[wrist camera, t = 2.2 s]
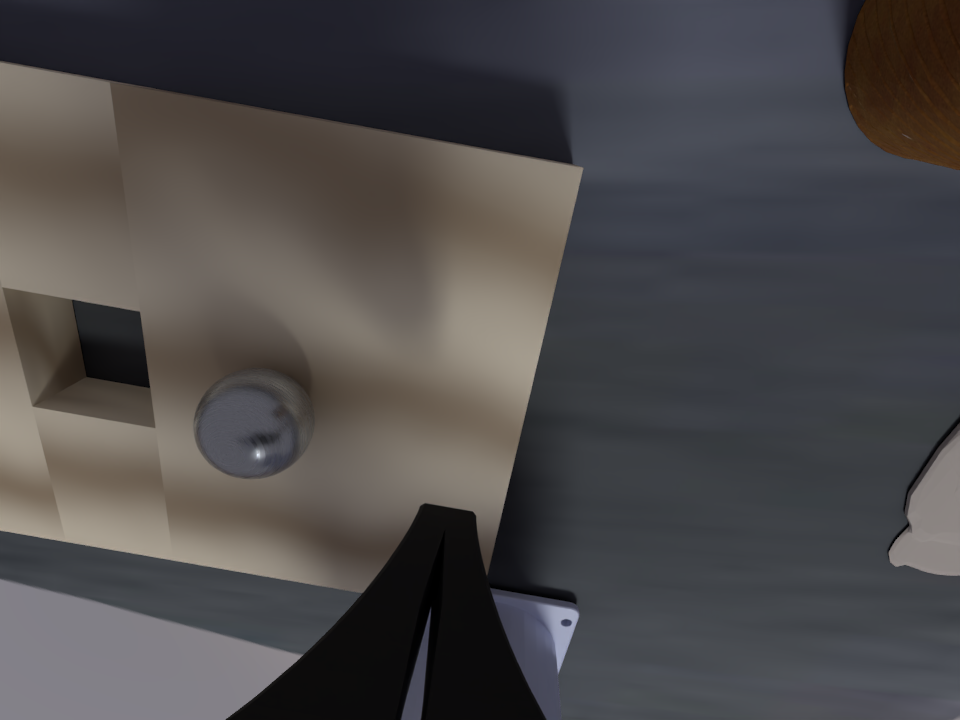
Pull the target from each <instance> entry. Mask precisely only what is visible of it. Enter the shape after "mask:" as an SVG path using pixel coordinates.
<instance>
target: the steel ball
mask: <svg viewBox="0 0 960 720" xmlns="http://www.w3.org/2000/svg"><path fill="white" fill-rule="evenodd" d="M314 427H315V414H314V409H313V405H312V402H311V400H310V398H309V396H308V394H307V393H306V391H305V390H304V389H303V387H302V386H301V385H300V384H299V383H298V382H297V381H295V380H294V379H293V378H291V377H289V376H288V375H286V374H284V373H281V372H279V371H276V370H272V369H267V368H248V369H242V370H239V371H235V372H233V373H230V374H228V375H226V376H224V377H223V378H221V379H220V380H218V381H217V382H215V383H214V384H213V385H212V386H211V387H210V388H209V389H208V390H207V391H206V392H205V394H204V395H203V397H202V398H201V400H200V402H199V403H198V406H197V408H196V411H195V415H194V421H193V432H194V439H195V442H196V445H197V447H198V449H199V451H200V453H201V454H202V456H203V457H204V458H205V460H206V461H207V462H208V463H209V464H210V465H212V466H213V467H214V468H215V469H217V470H218V471H220V472H222V473H224V474H226V475H229V476H232V477H235V478H241V479H261V478H266V477H270V476H273V475H276V474H278V473H280V472H282V471H284V470H286V469H288V468H289V467H290V466H292V465H293V464H294V463H295V462H296V461H297V460H298V459H299V458H300V457H301V456H302V455H303V454H304V452H305V451H306V449H307V448H308V446H309V444H310V442H311V439H312V436H313V433H314Z"/></svg>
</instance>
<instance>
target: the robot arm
mask: <svg viewBox="0 0 960 720" xmlns="http://www.w3.org/2000/svg"><path fill="white" fill-rule="evenodd" d="M578 618H579V609H578V606H577V605H576V604H574V603H571V602H567V601H561V600H555V599H550V598H544V597H538V596H532V595H527V594H521V593H515V592H509V591H504V590H498V589H492V588H490V586H489V582H488V578H487V575H486V571H485V567H484V563H483V559H482V555H481V550H480V545H479V539H478V532H477V523H476V515H475V513H474V512H473V511H468V510H462V509H457V508H451V507H445V506H439V505H434V504H428V503H424V504H423V505H421V506H420V507H419V510H418V512H417V515H416V516H415V518H414V520H413V522H412V524H411V526H410V528H409V529H408V531H407V533H406V534H405V536H404V538H403V539H402V541H401V542H400V544H399V545H398V547H397V548H396V550H395V551H394V553H393V554H392V555H391V557H390V558H389V560H388V561H387V563H386V564H385V565H384V567H383V568H382V569H381V571H380V572H379V573H378V575H377V576H376V577H375V578H374V580H373V581H372V582H371V583H370V585H369V586H368V587H367V588H366V590H365V591H364V592H363V593H362V595H361V596H360V597H359V598H358V599H357V600H356V602H355V603H354V604H353V605H352V606H351V607H350V608H349V610H348V611H347V612H346V613H345V614H344V615H343V616H342V617H341V618H340V619H339V620H338V621H337V623H336V624H335V625H334V626H333V627H332V628H331V629H330V630H329V631H328V632H327V633H326V634H325V635H324V636H323V637H322V638H321V639H320V640H319V641H318V642H317V643H316V644H315V645H314V646H313V647H312V648H311V649H310V650H308V651H307V652H306V653H305V654H304V655H303V656H302V657H301V658H300V659H299V660H298V661H297V662H296V663H294V664H293V665H292V666H291V667H290V668H289V669H288V670H286V671H285V672H284V673H283V674H282V675H280V676H279V677H278V678H277V679H276V680H275V681H273V682H272V683H271V684H270V685H269V686H268V687H267V688H265V689H264V690H263V691H262V692H261V693H259V694H258V695H257V696H256V697H254V698H253V699H252V700H251V701H249V702H248V703H247V704H246V705H244V706H243V707H242V708H240V709H239V710H238V711H236V712H235V713H234V714H232V715H231V716H230V717H228V718H227V719H226V720H562V718H561V706H560V693H559V681H558V673H559V671H560V668H561V665H562V662H563V660H564V657H565V654H566V651H567V649H568V646H569V643H570V640H571V637H572V635H573V632H574V629H575V626H576V624H577V621H578Z"/></svg>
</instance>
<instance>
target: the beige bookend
mask: <svg viewBox="0 0 960 720" xmlns="http://www.w3.org/2000/svg"><path fill="white" fill-rule="evenodd" d="M905 515H906V517H907V519H908V521H909V526H908V528H907V529H906V530H905V531H904V532H903V533H902V534H901V535H900V536H899V537H898V538H897V539H896V540H895V542H894V544H893V546H892V547H891V549H890V551H889V558H890V562H891V563H892V564H893V565H895V566H896V567H897V566H901V565H908V566H911V567H914V568H916V569H919V570H921V571H924V572H929V573H933V574H939V575H949V576H950V575H960V423H959V424H958V425H957V426H956V428H955V429H954V430H953V431H952V432H951V433H950V435H949V436H948V437H947V438H946V439H945V440H944V442H943V443H942V444H941V445H940V446H939V447H938V449H937V450H936V452H935V453H934V455H933V456H932V458H931V459H930V461H929V462H928V464H927V465H926V467H925V468H924V470H923V471H922V473H921V474H920V476H919V477H918V479H917V480H916V482H915V483H914V485H913V486H912V488H911V489H910V491H909V492H908V496H907V502H906V507H905Z"/></svg>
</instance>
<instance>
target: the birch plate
mask: <svg viewBox="0 0 960 720" xmlns="http://www.w3.org/2000/svg"><path fill="white" fill-rule="evenodd" d="M582 172H583V168H582V167H579V166H577V165H574V164H569V163H563V162H558V161H552V160H547V159H541V158H536V157H530V156H524V155H519V154H513V153H508V152H502V151H497V150H491V149H486V148H480V147H475V146H469V145H464V144H458V143H453V142H447V141H442V140H436V139H431V138H425V137H419V136H414V135H408V134H403V133H397V132H392V131H386V130H381V129H375V128H370V127H364V126H359V125H353V124H348V123H342V122H337V121H331V120H326V119H320V118H315V117H309V116H303V115H298V114H292V113H287V112H281V111H276V110H270V109H265V108H259V107H254V106H248V105H243V104H237V103H232V102H226V101H221V100H215V99H210V98H204V97H198V96H193V95H187V94H182V93H176V92H171V91H165V90H160V89H154V88H149V87H143V86H138V85H132V84H127V83H121V82H116V81H110V80H105V79H99V78H93V77H88V76H82V75H77V74H71V73H66V72H60V71H55V70H49V69H44V68H38V67H33V66H27V65H22V64H16V63H11V62H5V61H0V530H1V531H7V532H13V533H18V534H24V535H30V536H36V537H41V538H47V539H53V540H59V541H64V542H70V543H76V544H82V545H87V546H93V547H99V548H105V549H110V550H116V551H122V552H128V553H134V554H139V555H145V556H151V557H157V558H162V559H168V560H174V561H180V562H185V563H191V564H197V565H203V566H208V567H214V568H220V569H226V570H232V571H237V572H243V573H249V574H255V575H260V576H266V577H272V578H278V579H283V580H289V581H295V582H301V583H306V584H312V585H318V586H324V587H330V588H335V589H341V590H347V591H353V592H358V593H363V592H364V591H365V590H366V588H367V587H368V586H369V585H370V583H371V582H372V581H373V580H374V578H375V577H376V576H377V575H378V573H379V572H380V571H381V569H382V568H383V567H384V565H385V564H386V563H387V561H388V560H389V558H390V557H391V555H392V554H393V553H394V551H395V550H396V548H397V547H398V545H399V544H400V542H401V541H402V539H403V538H404V536H405V534H406V533H407V531H408V529H409V528H410V526H411V524H412V522H413V520H414V518H415V516H416V515H417V512H418V510H419V507H420V506H421V505H423V504H424V503H428V504H434V505H439V506H445V507H451V508H457V509H462V510H468V511H473V512H474V513H475V515H476V523H477V532H478V539H479V545H480V550H481V555H482V559H483V563H484V567H485V571H486V575H487V574H488V570H489V566H490V562H491V557H492V553H493V549H494V545H495V540H496V536H497V532H498V528H499V523H500V519H501V515H502V511H503V507H504V502H505V498H506V494H507V490H508V485H509V481H510V477H511V473H512V468H513V464H514V460H515V456H516V451H517V447H518V443H519V439H520V434H521V430H522V426H523V422H524V417H525V413H526V409H527V405H528V401H529V396H530V392H531V388H532V384H533V379H534V375H535V371H536V367H537V362H538V358H539V354H540V350H541V345H542V341H543V337H544V333H545V328H546V324H547V320H548V316H549V311H550V307H551V303H552V299H553V295H554V290H555V286H556V282H557V278H558V273H559V269H560V265H561V261H562V256H563V252H564V248H565V244H566V239H567V235H568V231H569V227H570V222H571V218H572V214H573V210H574V205H575V201H576V197H577V193H578V188H579V184H580V180H581V176H582ZM72 300H78V301H83V302H89V303H94V304H100V305H106V306H111V307H117V308H123V309H128V310H134V311H140V314H141V321H142V329H143V337H144V344H145V352H146V359H147V367H148V374H149V382H150V388H146V387H140V386H135V385H129V384H123V383H118V382H112V381H106V380H101V379H95V378H89V377H86V371H85V366H84V361H83V356H82V351H81V345H80V340H79V335H78V330H77V325H76V319H75V314H74V309H73V304H72ZM248 368H267V369H272V370H276V371H279V372H281V373H284V374H286V375H288V376H289V377H291V378H293V379H294V380H295V381H297V382H298V383H299V384H300V385H301V386H302V387H303V389H304V390H305V391H306V393H307V394H308V396H309V398H310V400H311V402H312V405H313V409H314V414H315V427H314V433H313V436H312V439H311V442H310V444H309V446H308V448H307V449H306V451H305V452H304V454H303V455H302V456H301V457H300V458H299V459H298V460H297V461H296V462H295V463H294V464H293V465H292V466H290V467H289V468H288V469H286V470H284V471H282V472H280V473H278V474H276V475H273V476H270V477H266V478H261V479H241V478H235V477H232V476H229V475H226V474H224V473H222V472H220V471H218V470H217V469H215V468H214V467H213V466H212V465H210V464H209V463H208V462H207V461H206V460H205V458H204V457H203V456H202V454H201V453H200V451H199V449H198V447H197V445H196V442H195V439H194V432H193V421H194V415H195V411H196V408H197V406H198V403H199V402H200V400H201V398H202V397H203V395H204V394H205V392H206V391H207V390H208V389H209V388H210V387H211V386H212V385H213V384H214V383H215V382H217V381H218V380H220V379H221V378H223V377H224V376H226V375H228V374H230V373H233V372H235V371H239V370H242V369H248Z"/></svg>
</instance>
